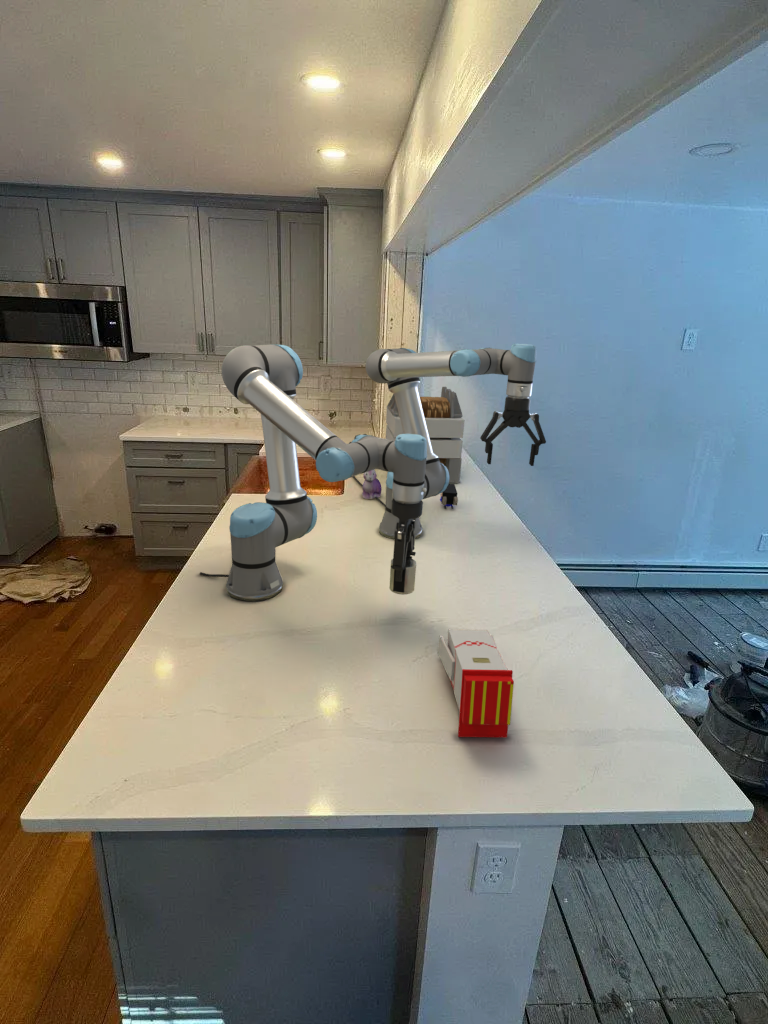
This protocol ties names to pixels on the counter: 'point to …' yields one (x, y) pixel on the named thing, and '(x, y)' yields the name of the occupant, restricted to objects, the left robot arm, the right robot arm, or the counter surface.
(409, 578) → the tin
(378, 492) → the figurine
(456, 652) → the toy
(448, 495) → the figurine character
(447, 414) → the grey slatted crate
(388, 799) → the counter surface
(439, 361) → the right robot arm
